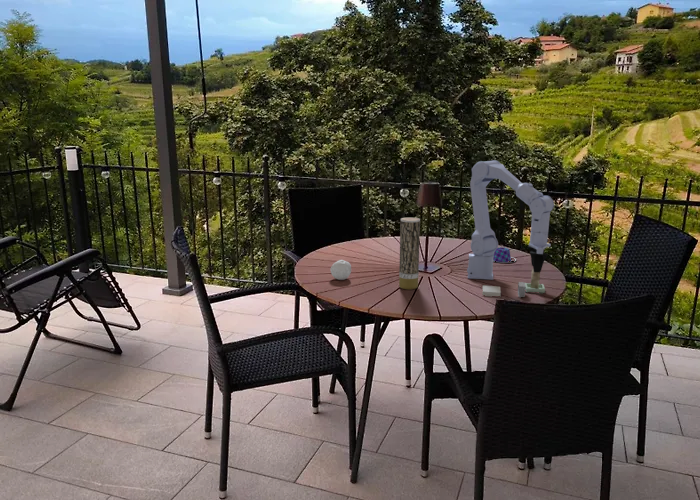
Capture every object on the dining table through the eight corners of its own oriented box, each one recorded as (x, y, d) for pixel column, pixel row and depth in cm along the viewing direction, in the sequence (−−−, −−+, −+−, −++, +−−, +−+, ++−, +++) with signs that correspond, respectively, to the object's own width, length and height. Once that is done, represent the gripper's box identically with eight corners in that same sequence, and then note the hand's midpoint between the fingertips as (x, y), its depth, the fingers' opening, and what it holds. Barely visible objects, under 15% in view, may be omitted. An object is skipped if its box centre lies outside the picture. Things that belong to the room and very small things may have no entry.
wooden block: (518, 297, 188) (519, 286, 187) (517, 292, 193) (518, 281, 192) (524, 297, 188) (525, 286, 187) (523, 293, 192) (524, 282, 192)
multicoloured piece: (521, 263, 232) (522, 251, 231) (495, 264, 230) (495, 252, 229) (507, 256, 244) (508, 244, 243) (482, 257, 241) (483, 246, 240)
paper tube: (405, 283, 204) (407, 216, 198) (421, 287, 199) (423, 218, 194) (395, 287, 199) (396, 219, 193) (411, 291, 194) (413, 221, 188)
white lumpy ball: (347, 275, 213) (347, 256, 212) (354, 281, 206) (354, 261, 205) (328, 277, 211) (327, 258, 209) (334, 283, 204) (334, 263, 202)
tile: (482, 296, 190) (482, 291, 190) (482, 290, 197) (482, 285, 196) (500, 298, 189) (500, 292, 188) (499, 292, 195) (500, 286, 195)
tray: (525, 292, 194) (526, 288, 193) (524, 286, 200) (524, 282, 199) (544, 293, 192) (545, 289, 192) (543, 288, 198) (543, 284, 198)
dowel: (530, 289, 195) (532, 270, 193) (530, 287, 197) (531, 268, 196) (539, 290, 194) (540, 271, 192) (538, 287, 197) (539, 269, 195)
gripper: (554, 236, 183) (550, 275, 186) (549, 227, 197) (545, 264, 200) (532, 235, 185) (528, 274, 188) (528, 226, 198) (525, 263, 202)
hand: (536, 269), depth 194 cm, fingers open, 7 cm apart
